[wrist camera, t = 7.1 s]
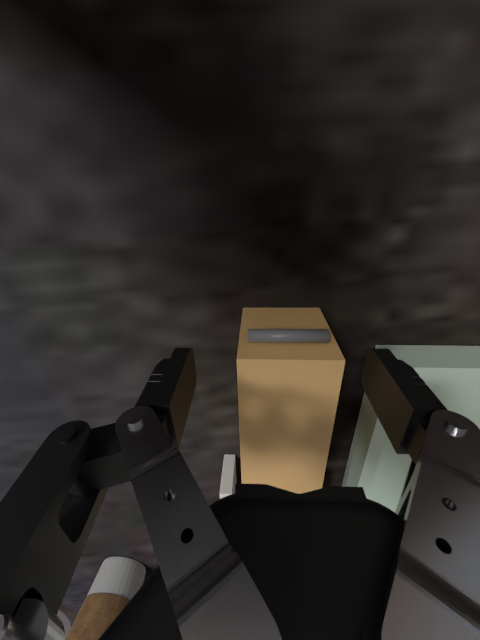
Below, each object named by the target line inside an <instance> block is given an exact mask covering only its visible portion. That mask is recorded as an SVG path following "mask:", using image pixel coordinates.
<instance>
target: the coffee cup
mask: <svg viewBox="0 0 480 640" xmlns="http://www.w3.org/2000/svg"><path fill="white" fill-rule="evenodd" d="M145 574H146V568H145V566H144V565H143V564H141V563H140V562H138V561H136V560H134V559H131V558H127V557H121V556H114V557H109V558H106V559H105V560H104V562H103V563H102V565H101V568H100V570H99V572H98V574H97V576H96V578H95V580H94V582H93V584H92V587H91V589H90V591H89V593H88V595H87V597H86V598H85V600H84V603H83V605H82V607H81V609H80V611H79V613H78V615H77V617H76V619H75V621H74V623H73V625H72V627H71V629H70V631H69V633H68V635H67V637H66V639H65V640H98V639H99V638H100V637H101V635H102V634H103V633H104V632H105V631H106V629H107V628H108V627H109V626H110V624H111V623H112V622H113V621H114V620H115V618H116V617H117V616H118V615H119V613H120V612H121V611H122V610H123V609H124V607H125V606H126V605H127V604H128V602H129V601H130V600H131V599H132V598H133V596H134V595H135V594H136V593H137V591H138V590H139V589H140V588H141V587H142V585H143V582H144V578H145Z"/></svg>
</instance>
